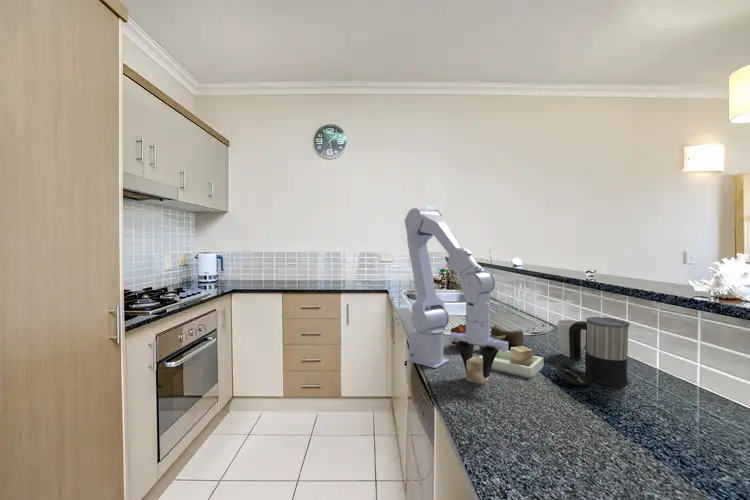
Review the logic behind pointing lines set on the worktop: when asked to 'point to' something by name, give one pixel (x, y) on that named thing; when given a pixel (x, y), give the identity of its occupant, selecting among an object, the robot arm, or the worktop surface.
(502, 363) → the tray
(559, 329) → the cup
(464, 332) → the dragon fruit
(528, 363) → the maple block
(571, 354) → the milk frother
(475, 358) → the maple block
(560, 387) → the worktop surface
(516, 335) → the kendama
